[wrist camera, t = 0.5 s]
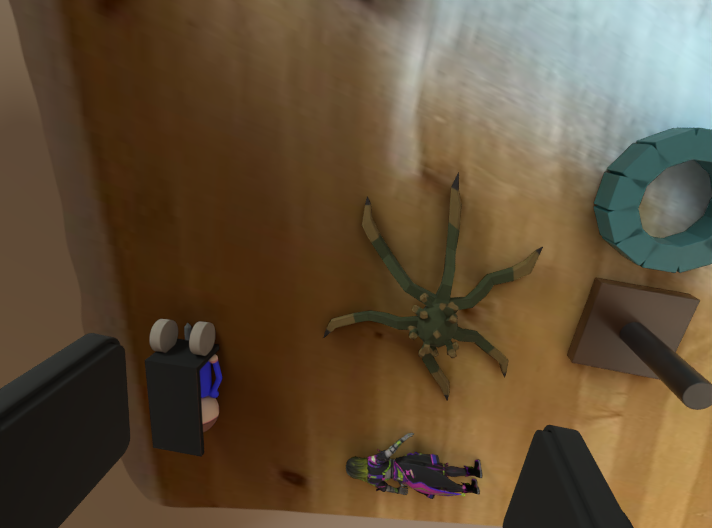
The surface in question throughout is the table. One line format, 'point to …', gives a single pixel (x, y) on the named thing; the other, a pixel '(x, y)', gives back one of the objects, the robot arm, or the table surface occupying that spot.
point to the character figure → (413, 472)
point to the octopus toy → (436, 298)
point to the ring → (625, 191)
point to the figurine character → (182, 385)
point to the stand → (640, 336)
